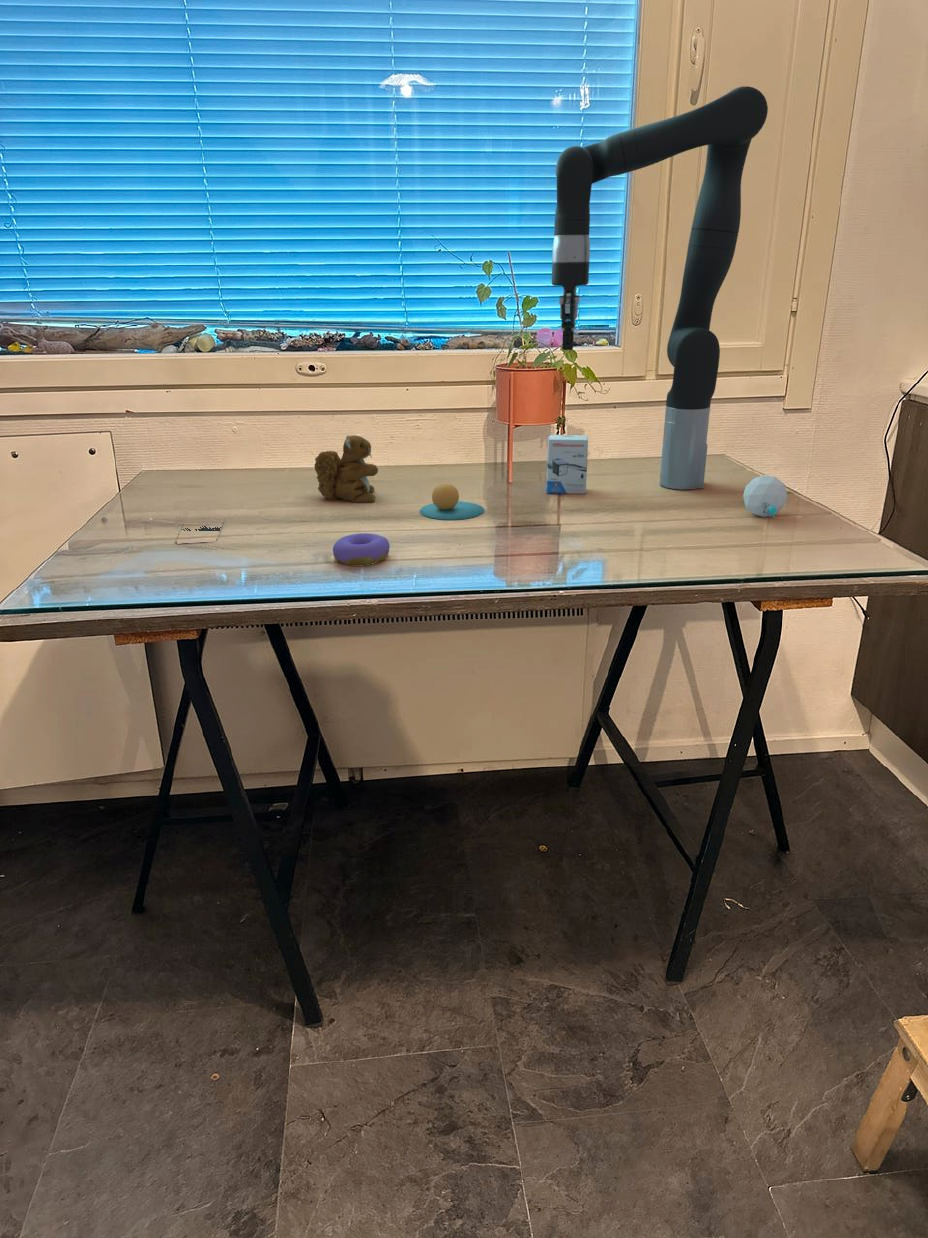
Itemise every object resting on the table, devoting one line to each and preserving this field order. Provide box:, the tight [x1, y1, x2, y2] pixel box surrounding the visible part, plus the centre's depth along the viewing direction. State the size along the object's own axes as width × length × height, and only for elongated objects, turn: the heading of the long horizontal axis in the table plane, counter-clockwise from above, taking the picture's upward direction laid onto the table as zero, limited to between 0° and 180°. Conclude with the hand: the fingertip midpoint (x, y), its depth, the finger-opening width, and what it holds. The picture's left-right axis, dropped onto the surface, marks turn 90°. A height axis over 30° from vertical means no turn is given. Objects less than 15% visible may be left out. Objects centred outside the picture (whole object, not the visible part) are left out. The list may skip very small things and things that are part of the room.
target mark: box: [419, 500, 485, 521], centre depth 165 cm, size 13×13×1 cm
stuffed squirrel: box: [314, 434, 379, 503], centre depth 174 cm, size 10×14×13 cm
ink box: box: [545, 434, 589, 495], centre depth 176 cm, size 9×5×12 cm, turn 84°
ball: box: [431, 482, 460, 510], centre depth 164 cm, size 6×6×6 cm
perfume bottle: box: [743, 474, 788, 519], centre depth 156 cm, size 8×8×12 cm
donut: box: [332, 532, 391, 566], centre depth 138 cm, size 10×9×5 cm
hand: (567, 349), depth 172 cm, fingers closed
